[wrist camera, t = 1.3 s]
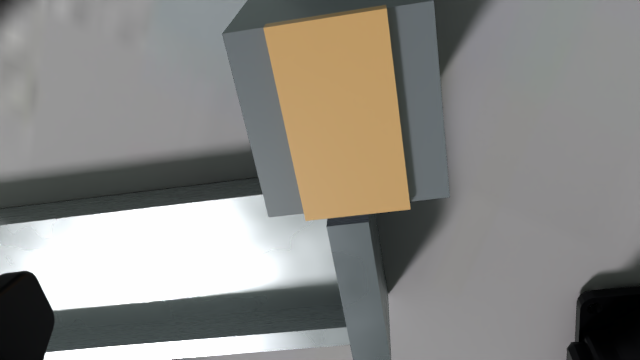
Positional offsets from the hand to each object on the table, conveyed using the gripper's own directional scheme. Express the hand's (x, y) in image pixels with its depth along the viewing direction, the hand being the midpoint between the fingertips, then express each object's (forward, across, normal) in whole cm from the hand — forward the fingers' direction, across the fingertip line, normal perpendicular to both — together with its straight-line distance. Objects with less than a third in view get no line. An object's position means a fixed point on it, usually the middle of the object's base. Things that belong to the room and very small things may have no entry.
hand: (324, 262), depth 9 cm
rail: (+11, +7, +7) cm, 14 cm away
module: (+11, 0, 0) cm, 11 cm away
